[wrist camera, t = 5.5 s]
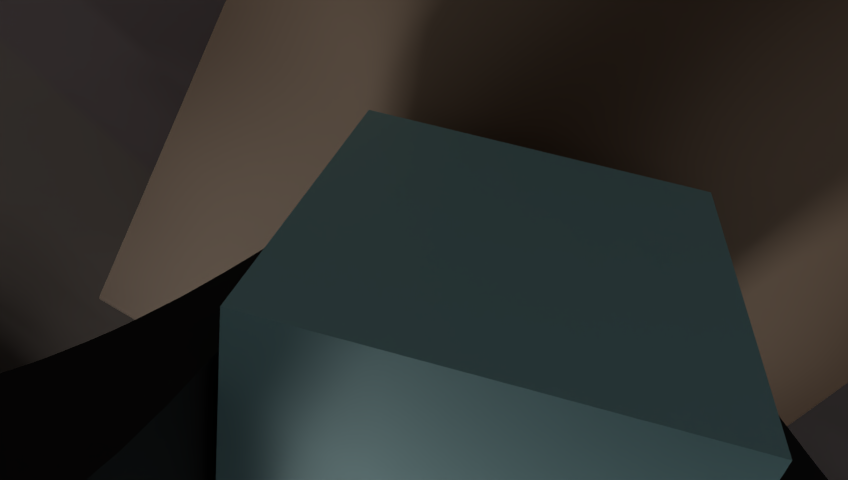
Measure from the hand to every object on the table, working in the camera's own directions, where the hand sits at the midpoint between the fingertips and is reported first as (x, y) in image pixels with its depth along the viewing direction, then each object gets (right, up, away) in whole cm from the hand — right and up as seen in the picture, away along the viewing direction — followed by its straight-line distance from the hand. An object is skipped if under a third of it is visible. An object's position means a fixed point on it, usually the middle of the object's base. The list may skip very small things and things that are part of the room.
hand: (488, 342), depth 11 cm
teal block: (0, +1, +1) cm, 1 cm away
